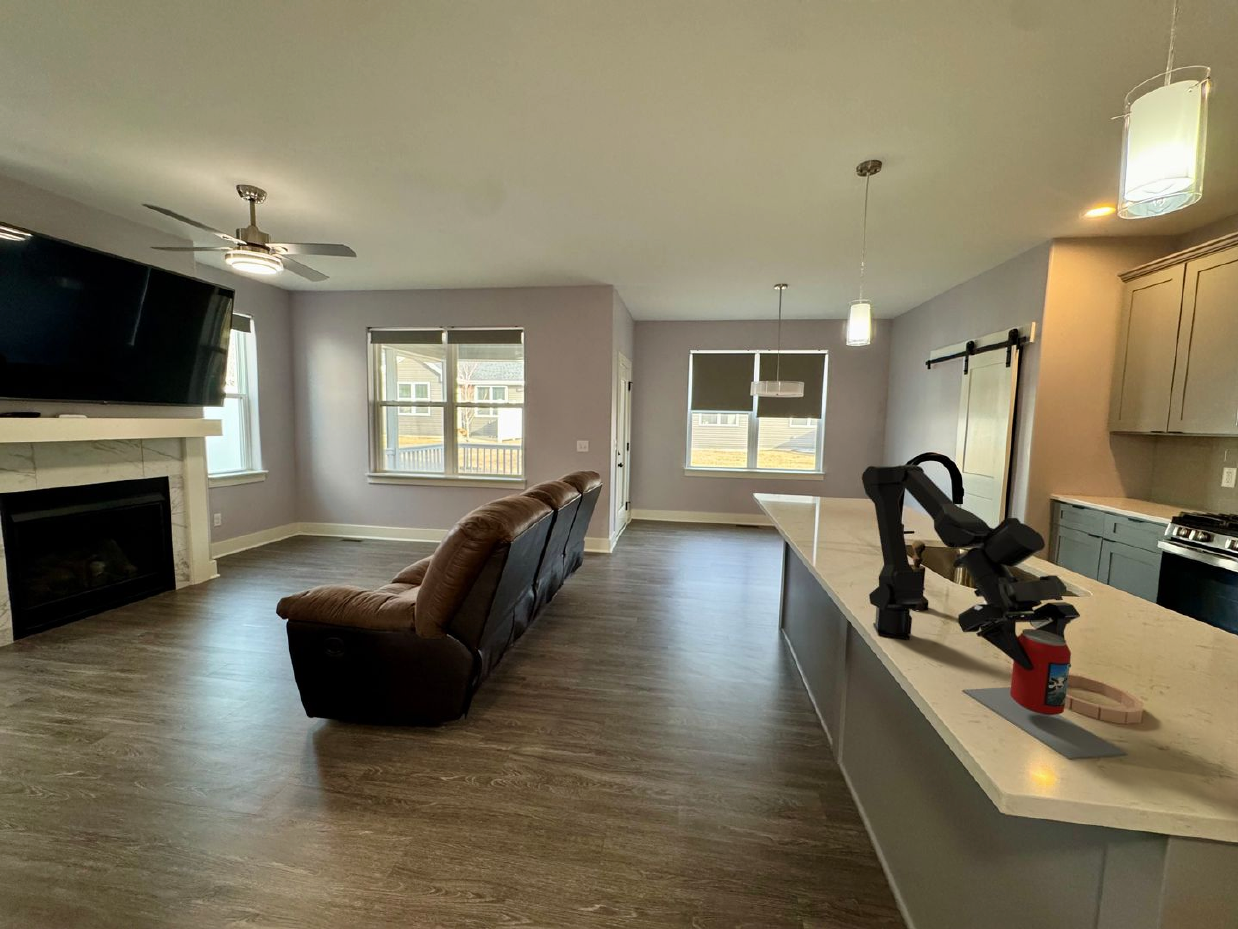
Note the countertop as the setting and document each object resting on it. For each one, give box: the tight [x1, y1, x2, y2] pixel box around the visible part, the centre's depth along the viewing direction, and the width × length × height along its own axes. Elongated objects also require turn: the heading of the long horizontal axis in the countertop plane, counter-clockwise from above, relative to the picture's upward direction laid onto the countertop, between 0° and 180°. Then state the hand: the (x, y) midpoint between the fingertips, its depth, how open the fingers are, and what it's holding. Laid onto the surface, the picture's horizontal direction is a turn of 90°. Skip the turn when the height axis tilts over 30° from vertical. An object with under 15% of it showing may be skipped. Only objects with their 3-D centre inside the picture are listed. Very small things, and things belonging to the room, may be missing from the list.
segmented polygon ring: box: [1064, 672, 1144, 725], centre depth 85 cm, size 13×13×2 cm
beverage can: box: [1010, 628, 1072, 715], centre depth 78 cm, size 7×7×12 cm
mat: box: [961, 686, 1128, 760], centre depth 79 cm, size 18×10×1 cm, turn 9°
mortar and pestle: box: [909, 540, 929, 612], centre depth 129 cm, size 7×6×18 cm
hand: (1049, 669), depth 77 cm, fingers closed on beverage can, 7 cm apart
